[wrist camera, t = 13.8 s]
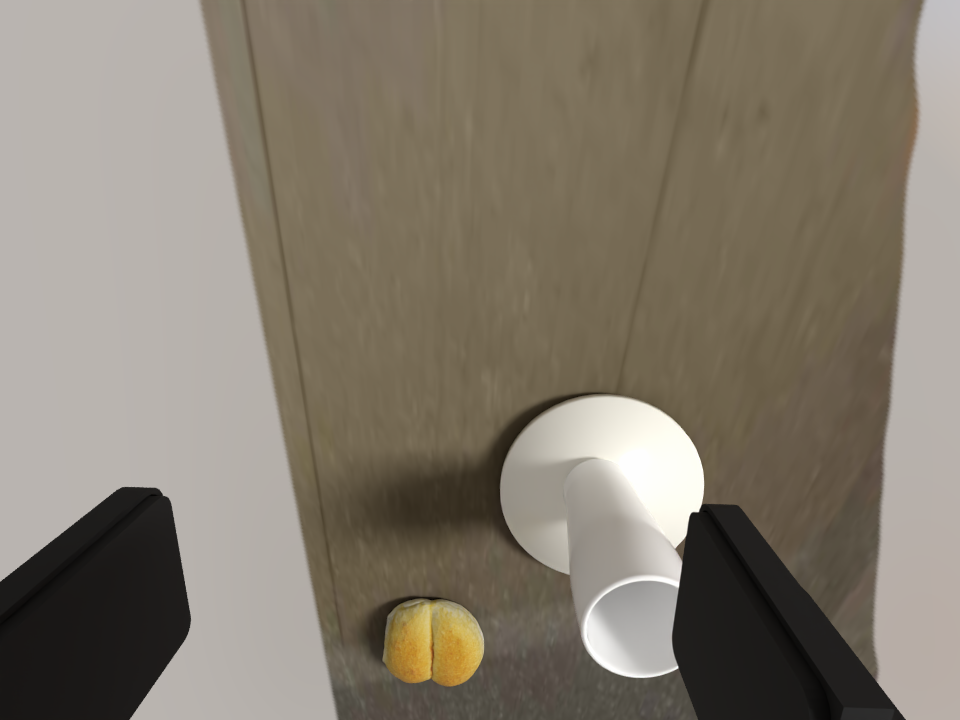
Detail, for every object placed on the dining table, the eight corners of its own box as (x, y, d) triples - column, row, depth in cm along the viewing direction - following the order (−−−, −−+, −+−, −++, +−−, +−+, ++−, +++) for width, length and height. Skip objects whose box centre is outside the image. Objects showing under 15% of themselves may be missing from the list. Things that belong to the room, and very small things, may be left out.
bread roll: (479, 672, 51) (478, 710, 47) (384, 661, 51) (375, 698, 47) (489, 598, 49) (489, 633, 45) (389, 587, 49) (380, 620, 45)
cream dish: (503, 388, 43) (503, 394, 41) (710, 394, 42) (717, 401, 41) (497, 563, 47) (497, 574, 46) (684, 569, 47) (690, 581, 45)
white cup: (586, 538, 45) (628, 700, 30) (535, 479, 43) (553, 620, 29) (656, 492, 43) (734, 639, 29) (605, 430, 42) (661, 552, 28)
